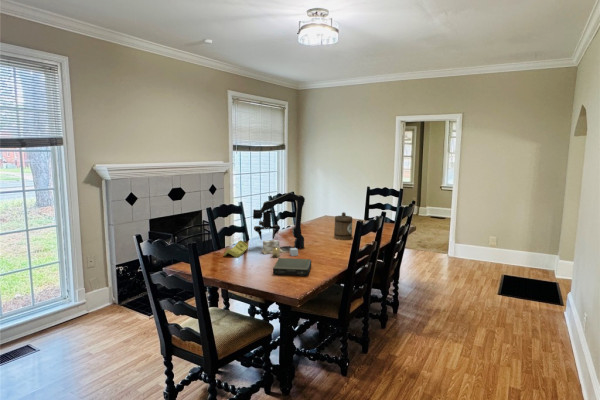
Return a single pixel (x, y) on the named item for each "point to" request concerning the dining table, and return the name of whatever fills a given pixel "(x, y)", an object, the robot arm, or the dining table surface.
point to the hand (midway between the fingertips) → (267, 239)
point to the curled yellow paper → (237, 249)
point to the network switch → (292, 267)
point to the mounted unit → (271, 244)
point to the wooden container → (343, 227)
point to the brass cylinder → (276, 252)
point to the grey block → (293, 251)
